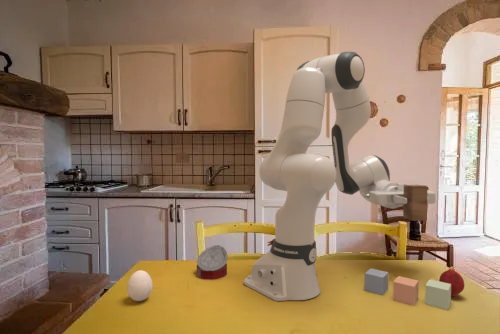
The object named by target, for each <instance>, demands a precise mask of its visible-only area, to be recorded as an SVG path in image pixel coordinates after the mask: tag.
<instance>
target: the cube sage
mask: <svg viewBox="0 0 500 334" xmlns="http://www.w3.org/2000/svg"><path fill="white" fill-rule="evenodd" d="M424 294H425V296H424V297H425V300H424V303H425V305H429V306H431V307H436V308H439V309H442V310H443V309H444V310H447V311H449V307H450V306H451V303H452V301H451V300H452V296H451V284H449V283H444V282H440V281H439V280H434V279H432V278H431V279H429V280H428V281H427V282H426V284H425V293H424Z"/></svg>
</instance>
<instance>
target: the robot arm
mask: <svg viewBox="0 0 500 334" xmlns="http://www.w3.org/2000/svg"><path fill="white" fill-rule="evenodd" d="M365 69H366V68H365V63H364V61H363V59H362V57H361V56H360V55H359V54H358V53H357V52H355V51H343V52H340V53H335V54H329V55H323V56H320V57H317V58H314V59H312V60H307V61H305V62H303V63H302V64H301V65H299V66H298V67H297V68H296V71H295V72H294V74H293V75H292V78H291V80H290V83H289V86H288V91H287V94H286V99H285V105H284V112H283V118H282V122H281V123H282V124H281V128H280V132H279V134H278V136H277V140H276V142H275V143H274V146H273V148H272V149H271V151H270V152H269V154H268V155H267V156H266V157H265V158H264V159H263V160H262V161H261V163H260V164H259V173H258V174H259V178H260V179H261V181H262V183H263V184H264V185H266V186H268V187H270V188H272V189H274V190H278V191H284V192H286V198H285V202H284V204H283V205H282V206H281V207H279V209H277V211H276V213H275V216H274V217H275V220H274V221H275V223H274V224H275V226H274V229H275V232H274V235H275V236H274V238H273V239H272V240H269V241H267V242H266V243H267V244H266V245H267V246H268V247H269V246H271V247H270V250H269V251H268V252H267V253H265V254H263V255H261V256H260V257H259V258H258V259H257V260H255V262H254V263H253V265H252V269H251V274H250V273H249V275H247V276H246V277H245V278H244V280H243V285H245V286H247V287H249V288H251V289H253V290H254V291H256V292H258V293H260V294H262V295H264V296H266V297H267V298H269V299H271V300H272V301H275V302H284V301H305V300H309V299H313V298H315V297H318V295H319V294H320V293H321V289H320V285H319V281H318V276H317V270H316V269H317V268H316V261H317V260H316V258H317V242H316V240H315V230H316V228H315V227H316V213H317V211H318V207H319V204H320V202H321V200H322V198H323V197H324V196H325V195H326V194H327V193H328V192H330V190H331V189H332V188H333V187H334V185H336V188H337V189H338V191H339V192H341V193H343V194H346V195H349V196H352V195H354V194H356V193H357V192H359V194H360V196H361V197H362V198H363V199H364V200H365V201H367V202H368V203H369V202H370V203H371V204H373V205H378V206H381V207H385V208H389V209H392V210H393V209H397V208H400V207H401V208H402V207H403V204H410V198H407V197H404V185H405V184H403V183H399V182H396V181H390V180H391V173H390V169H389V167H388V165H387V163H386V162H385V160H384V159H383V158H381V157H379V156H377V155H374V154H369V155H367V156H365V157H363V158H361V159H359V160H357V161H354V162H353V163H351V164H350V158H349V157H350V156H349V149H348V148H349V144H350V142H351V140H352V139H353V138H354V137H355V135H356V134H358V132H359V131H361V130H362V129H363V128H364V127H365V126H366V125H367V123H368V122H369V120H370V118H371V116H372V107H371V102H370V101H371V100H370V96H369V93H368V90H367V87H366V85H365V84H366V83H365V82H364V78H365V71H366V70H365ZM326 94H332V95H331V97H332V101H333V105H334V108H335V122H334V124H333V126H332V128H331V145H332V146H331V147H332V155H333V161H332V159H331V158H329V157H327V156H324V155H320V154H317V153H311V152H310V153H309V152H308V153H307V151H308V150H309V148H310V145H311V144H312V143H314V142H315V141H316V140H317V139H318V138H319V137H320V135H321V133H322V132H321V131H322V125H323V119H324V118H323V117H324V111H325V105H326V104H325V103H326ZM436 199H437V197H436V193H435V191H432V190H429V189H428V190H427V205H428V204H429V205H433V204H435V203H436Z"/></svg>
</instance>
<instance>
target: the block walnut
mask: <svg viewBox="0 0 500 334" xmlns="http://www.w3.org/2000/svg"><path fill="white" fill-rule="evenodd" d="M427 190H429V189H428V186H427V185H421V184H404V197H407V198H410V204H403V206H402V208H403V209H402V210H403V211H402V212H403V213H402V215H403V217H402V218H404V219H405V220H409V221H413V222H415V221H416V222H417V221H427V220H428V204H427Z"/></svg>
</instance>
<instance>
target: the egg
mask: <svg viewBox="0 0 500 334" xmlns="http://www.w3.org/2000/svg"><path fill="white" fill-rule="evenodd" d="M126 289H127V294H128V297H129V298H130V299H131V300H133V301H135V302H143V301H145V300H146V299H147V298H149V296H150V295H151V293H152V290H153V280H152V277H151V276H150V274H149V273H148V272H147V271H145V270H142V269H141V270H140V269H139V270H137V271H134V272H133V273H132V274H131V276H130V278H129V279H128V281H127V286H126Z"/></svg>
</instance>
